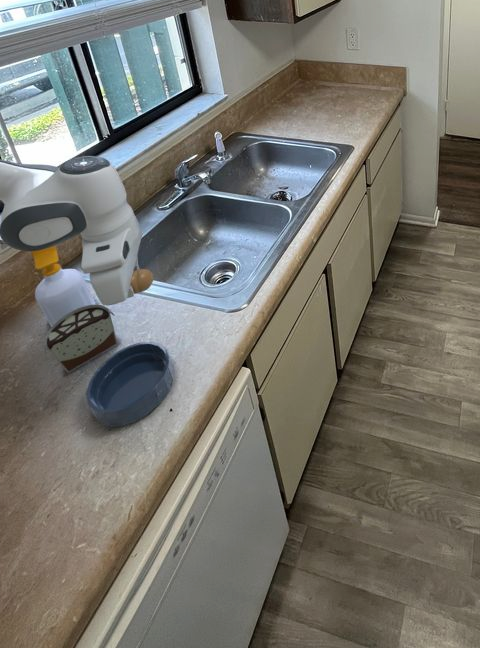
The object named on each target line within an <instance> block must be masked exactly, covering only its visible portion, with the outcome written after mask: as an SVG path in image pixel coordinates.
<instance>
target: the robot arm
mask: <svg viewBox="0 0 480 648" xmlns="http://www.w3.org/2000/svg"><path fill="white" fill-rule="evenodd" d="M121 178H122V177H121V176H120V174H119V173H118V171H117V169H116V167H115V166H114V165H113V163H112V162H110V161H109V160H108V159H106V158H104V157H102V156H97V155H84V156H83V155H82V156H77V157H74V158H71V159H69V160H66V161H64V162H63V163H61V164H60V165H59V166H56V165H50V164H35V163H34V164H33V163H32V164H31V163H19V162H14V161H8V160H5V159H1V158H0V201H1V202H2V203H3V208H2V209H3V210H2V212H1V218H0V239H1V240H2V242H3V243H4V244H5V245H6V246H8V247H10V248H12V249H14V250H17V251H23V252H31V251H38V250H43V249H46V248H49V247H52V246H54V245H55V246H57V245H59V244H61V243H63V242H65V241H68V240H70V239H73V238H74V237H76V236H78V235H80V237H81V238H82V239H81V246H82V253H81V263H80V268H81V270H82V272H83V273H82V274H84V275H87V274H89V281H90V284H91V287H92V288H93V291H94V292H95V294H96V296H97V298H98V300H99V302H100V303H101V305H103V306H105V307H108V306H112V305H117V304H120V303H123V302H125V301H127V300H128V299H130V298H133V297H134V296H135V294H134V292H135V289H134V286H133V285H130V283H131V279H132V275H133V271H134V270H138V269H141V268H140V266H139V259H138V258H139V257H138V254H139V250H140V246H141V242H142V237H143V231H142V227H141V226H140V223H139V221H138V218H137V217H136V215H135V212H134V210H133V208H132V206H131V204H129V202H128V201H127V200H128V199H127V198H128V197H127V196H128V195H127V191H126V188H125V185H124V183H123V181H122V179H121Z"/></svg>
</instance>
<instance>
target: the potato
mask: <svg viewBox="0 0 480 648" xmlns="http://www.w3.org/2000/svg"><path fill="white" fill-rule="evenodd" d="M153 282H154V274H153V272H152V271H150V270H149V269H146V268H140V269H138V270H134V271H133V275H132V279H131V283H130V285H133V286H134V289H135V292H134V295H136V294H141V293H143V292H145V291H147V290H149V289H150V288H151V286H152V285H153Z"/></svg>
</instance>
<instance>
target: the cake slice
mask: <svg viewBox="0 0 480 648" xmlns="http://www.w3.org/2000/svg"><path fill="white" fill-rule="evenodd" d="M111 315H112V316H113V317H115V314H114V313H113V311H112V310H111V309H110V308H108V306H106V305H103V304H96V303H95V305H87V306H84V307H81V308H78V309H76V310H73V311H72V312H70V313H68V314H66V315H65V316H63V317H62V318H61V319H59V320H58V321H57V322H56V323H55V324H54V325H53V326H52V327H51V326H50V329H48V331H47V333H46V334H45V338H44V342H43V349H44V353H45V354H47V351H49V352H50V354H51V355H52V356H53V357H54V359H55V360H56V361H57V362H58V363H59V365H60V366H61V367H62V368H63V370H64V371H65V372H66V373H67V374H70V373H71V372H73V371H74V370H76V369H78V368H80V367H81V366H83V365H85V364H87V363H88V362H90V361H92V360H93V359H95V358H97V357H99V356H100V355H102V354H104V353H106V352H107V351H109V350H111V349H112V348H115V347H116V346H117V345H119V343H118V339H117V335H116V331H115V327H114V323H113V320H112V316H111Z"/></svg>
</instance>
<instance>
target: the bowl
mask: <svg viewBox="0 0 480 648" xmlns="http://www.w3.org/2000/svg"><path fill="white" fill-rule="evenodd" d="M174 376H175V368H174V364H173V362H172V360H171V357H170V355H169V352H168V349H167V348H166V347H165V346H164V345H162V344H161V343H159V342H155V341H139V342H137V343H132V344H129V345H127V346H125V347H124V348H122V349H119V350H118V351H116V352H115V353H113V354H112V355H111V356H109V357H108V358H107V359H106V360H104V361H103V363H102V364H101V365H100V366H99V367H98V368H97V369H96V370H95V371H94V373H93V375H92V377H91V378H90V380H89V381H88V384H87V388H86V392H85V396H86V397H85V398H86V403H87V405H88V407H89V408H90V411H91V412H92V414H93V416H94V418H95V419H96V420H97V421H98V422H99V424H101V425H103V426H107V427H110V428H111V427H123V426H126V425H130V424H132V423H135V422H137V421H139V420H140V419H141V418H143V417H145V416H147V415H149V414H150V413H151V412H152V411H153V410H154V409H155V408H156V407H157V406H159V405H160V404H161V403H162V401H164V398H165V397H166V396H167V394H168V393H169V392H170V390H171V387H172V385H173V382H174V379H175V378H174Z"/></svg>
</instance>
